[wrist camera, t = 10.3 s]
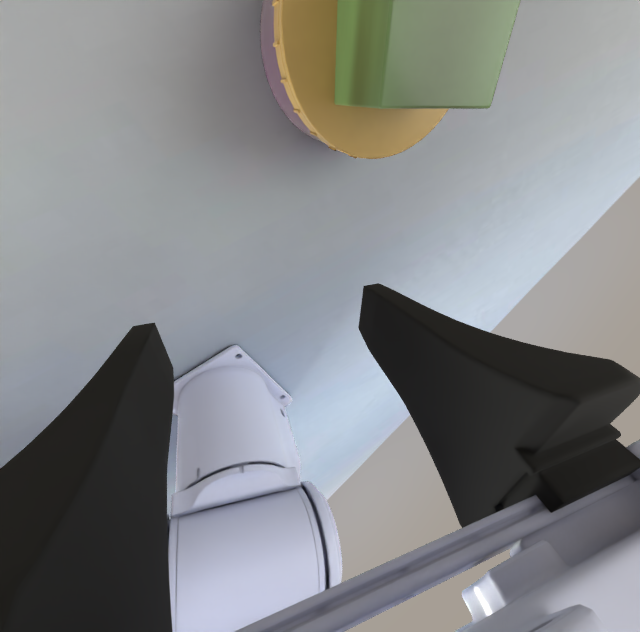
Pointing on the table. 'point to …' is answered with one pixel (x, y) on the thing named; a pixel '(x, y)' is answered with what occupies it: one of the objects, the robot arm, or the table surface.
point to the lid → (319, 87)
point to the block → (421, 52)
